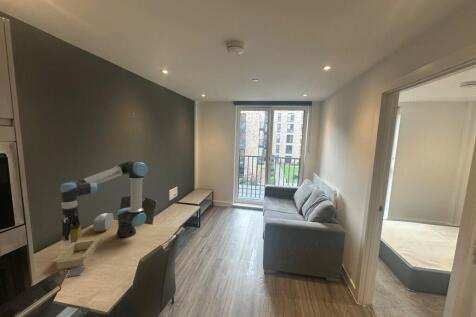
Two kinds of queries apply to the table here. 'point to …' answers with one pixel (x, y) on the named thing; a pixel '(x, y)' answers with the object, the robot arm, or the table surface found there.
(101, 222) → the alarm clock
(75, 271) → the mat
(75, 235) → the flower pot
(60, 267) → the wooden tray
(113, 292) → the table surface
